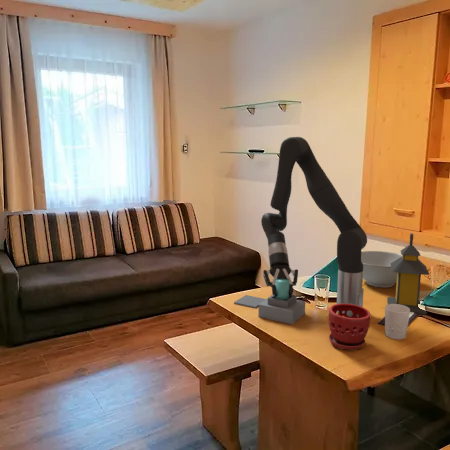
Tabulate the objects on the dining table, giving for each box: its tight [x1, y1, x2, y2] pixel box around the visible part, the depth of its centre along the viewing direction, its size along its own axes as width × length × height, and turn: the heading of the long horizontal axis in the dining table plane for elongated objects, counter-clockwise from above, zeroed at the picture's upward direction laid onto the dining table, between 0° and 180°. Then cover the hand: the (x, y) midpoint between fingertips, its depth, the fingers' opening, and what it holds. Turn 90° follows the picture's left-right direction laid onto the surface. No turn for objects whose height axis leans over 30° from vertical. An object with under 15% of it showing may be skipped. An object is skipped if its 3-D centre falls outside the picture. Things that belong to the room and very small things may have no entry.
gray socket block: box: [258, 294, 306, 325], centre depth 173 cm, size 14×12×8 cm
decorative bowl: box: [361, 250, 402, 289], centre depth 209 cm, size 27×27×12 cm
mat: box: [233, 294, 267, 309], centre depth 188 cm, size 10×10×1 cm
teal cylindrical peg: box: [275, 278, 289, 301], centre depth 172 cm, size 5×5×9 cm
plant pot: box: [328, 303, 371, 351], centre depth 148 cm, size 13×13×12 cm
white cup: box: [384, 303, 410, 340], centre depth 155 cm, size 8×8×10 cm
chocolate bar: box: [377, 312, 419, 327], centre depth 169 cm, size 9×1×18 cm
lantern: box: [386, 233, 430, 316], centre depth 179 cm, size 14×14×30 cm
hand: (283, 295), depth 170 cm, fingers closed on teal cylindrical peg, 5 cm apart
